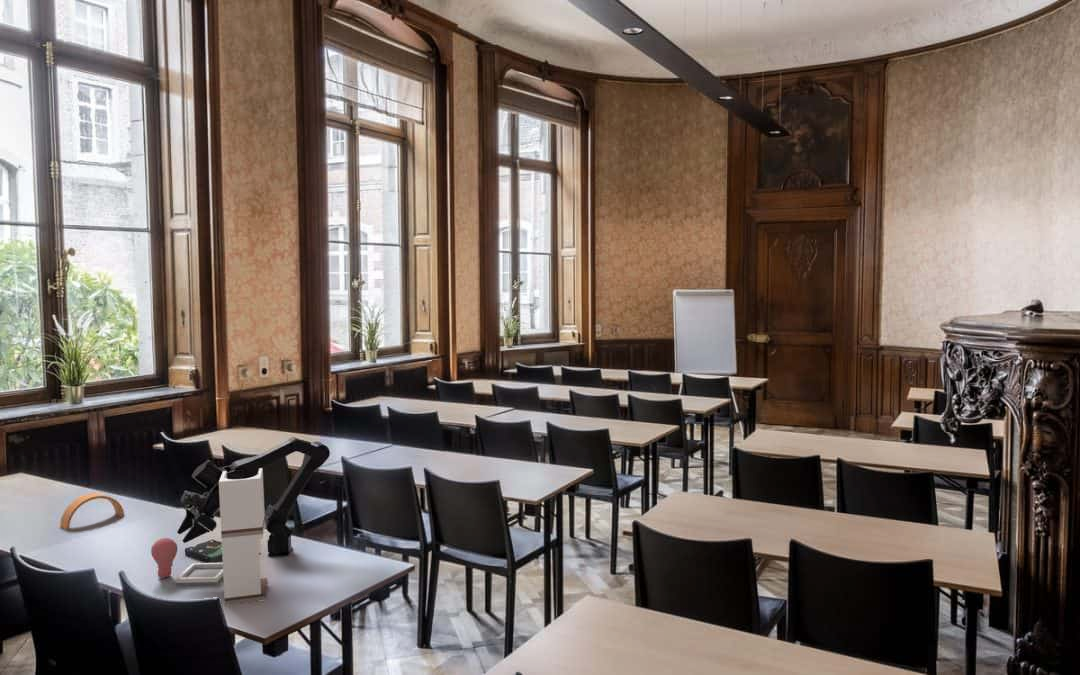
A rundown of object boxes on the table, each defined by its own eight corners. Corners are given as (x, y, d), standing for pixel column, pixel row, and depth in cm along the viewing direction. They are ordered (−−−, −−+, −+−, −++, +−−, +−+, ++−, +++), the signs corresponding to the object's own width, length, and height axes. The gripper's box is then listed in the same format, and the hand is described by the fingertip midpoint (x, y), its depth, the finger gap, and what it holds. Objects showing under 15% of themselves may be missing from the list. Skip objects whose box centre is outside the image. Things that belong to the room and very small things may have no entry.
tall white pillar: (265, 600, 216) (260, 478, 213) (224, 605, 213) (218, 481, 210) (267, 584, 227) (262, 468, 224) (228, 589, 224) (223, 471, 221)
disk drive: (184, 557, 251) (211, 565, 243) (183, 548, 251) (211, 557, 243) (213, 547, 260) (240, 555, 252) (212, 539, 260) (240, 546, 252)
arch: (124, 516, 292) (123, 490, 291) (66, 530, 276) (64, 503, 275) (117, 513, 295) (116, 487, 294) (60, 527, 280) (58, 500, 279)
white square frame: (232, 569, 239) (231, 562, 239) (217, 585, 227) (216, 578, 227) (192, 570, 238) (192, 563, 238) (175, 586, 227) (175, 578, 226)
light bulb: (184, 574, 235) (182, 536, 234) (164, 583, 229) (161, 544, 227) (167, 570, 238) (165, 533, 237) (147, 579, 232) (145, 540, 230)
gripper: (191, 474, 244) (154, 514, 239) (203, 488, 229) (164, 531, 223) (219, 494, 249) (183, 534, 244) (232, 509, 234) (194, 552, 229)
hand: (180, 537), depth 235 cm, fingers open, 9 cm apart
